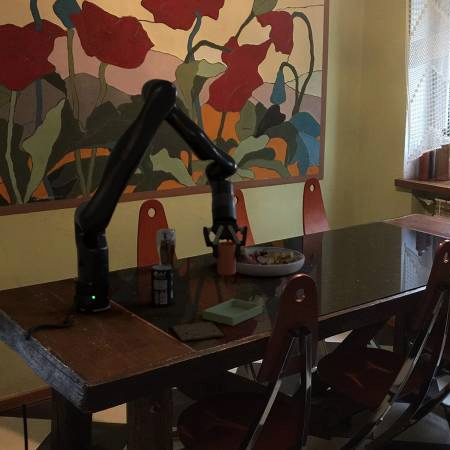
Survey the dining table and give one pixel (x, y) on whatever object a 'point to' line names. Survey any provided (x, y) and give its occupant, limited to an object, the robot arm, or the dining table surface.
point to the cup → (226, 258)
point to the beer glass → (166, 247)
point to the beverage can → (161, 285)
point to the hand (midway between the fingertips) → (227, 257)
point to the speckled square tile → (197, 331)
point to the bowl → (268, 261)
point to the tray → (232, 312)
